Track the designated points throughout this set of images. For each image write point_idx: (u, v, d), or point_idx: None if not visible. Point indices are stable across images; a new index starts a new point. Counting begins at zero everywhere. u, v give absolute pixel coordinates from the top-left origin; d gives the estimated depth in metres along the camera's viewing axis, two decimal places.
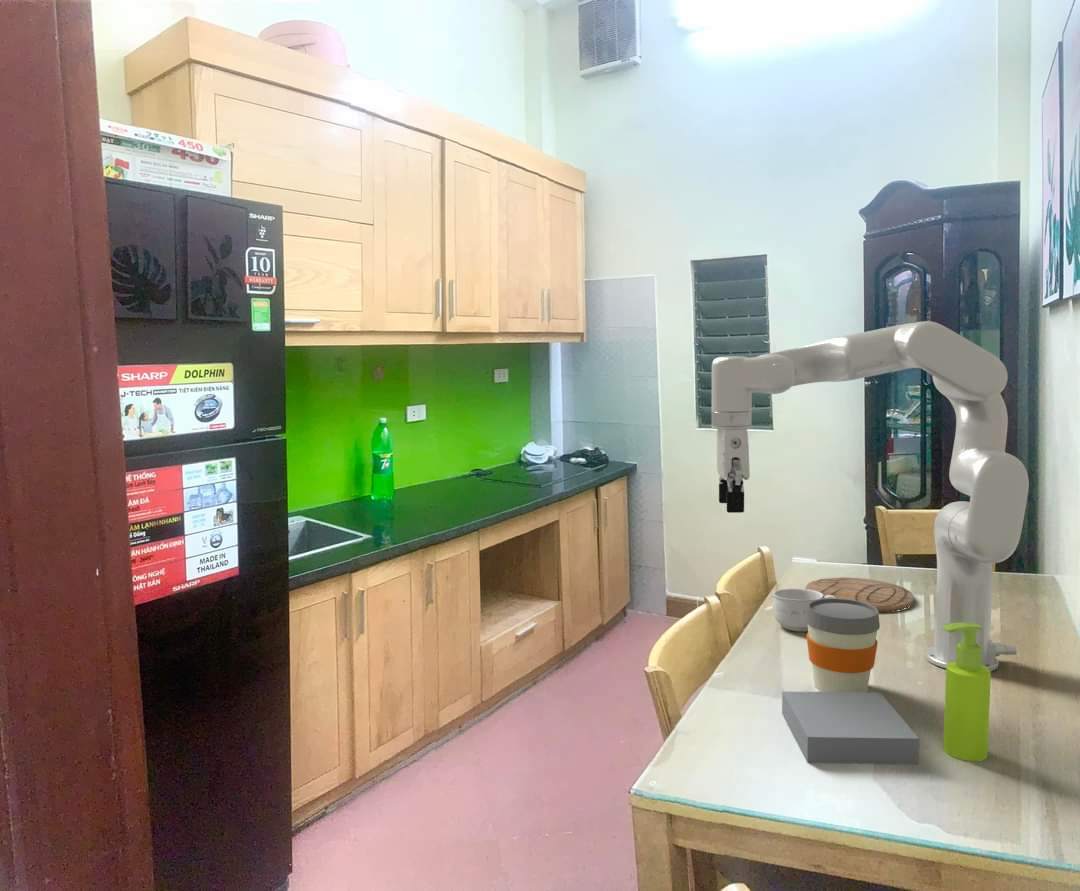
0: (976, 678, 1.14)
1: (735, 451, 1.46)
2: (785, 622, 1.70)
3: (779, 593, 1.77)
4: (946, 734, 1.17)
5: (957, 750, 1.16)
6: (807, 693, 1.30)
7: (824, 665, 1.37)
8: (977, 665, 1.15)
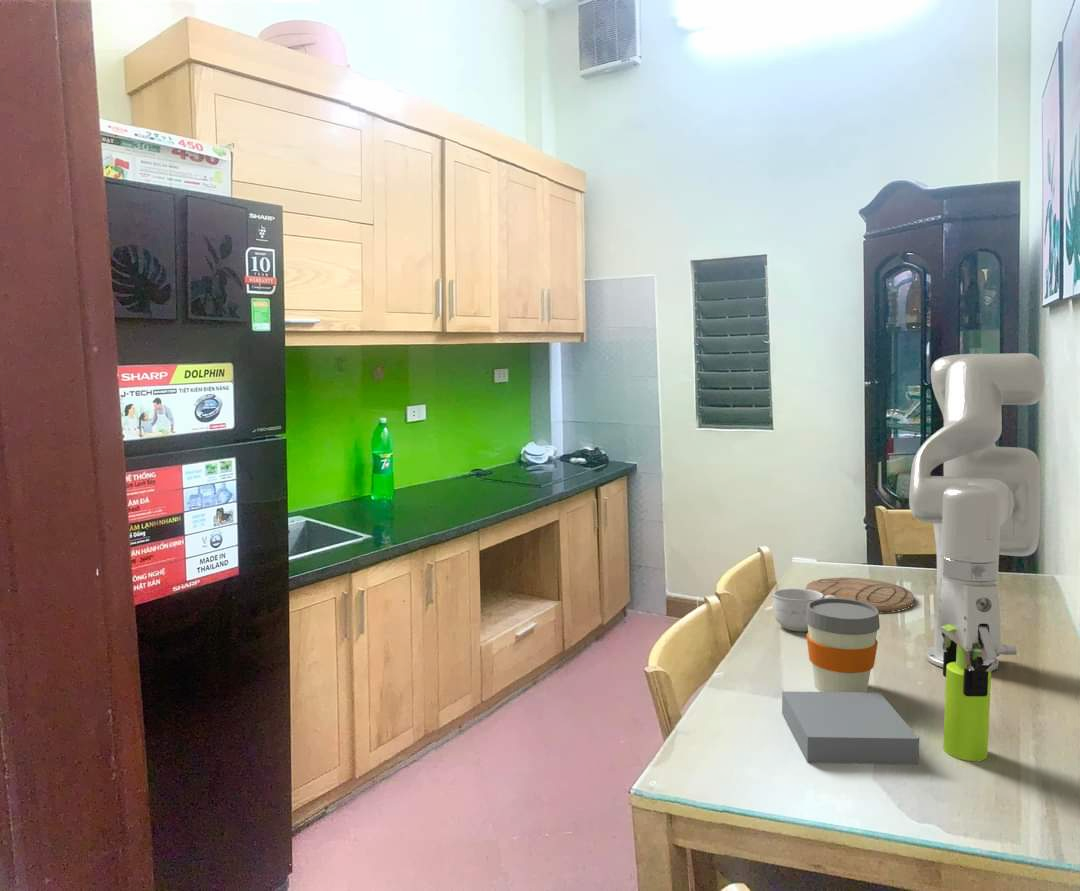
0: None
1: (983, 615, 1.10)
2: (785, 622, 1.70)
3: (779, 593, 1.77)
4: (946, 734, 1.17)
5: (957, 750, 1.16)
6: (807, 693, 1.30)
7: (824, 665, 1.37)
8: None
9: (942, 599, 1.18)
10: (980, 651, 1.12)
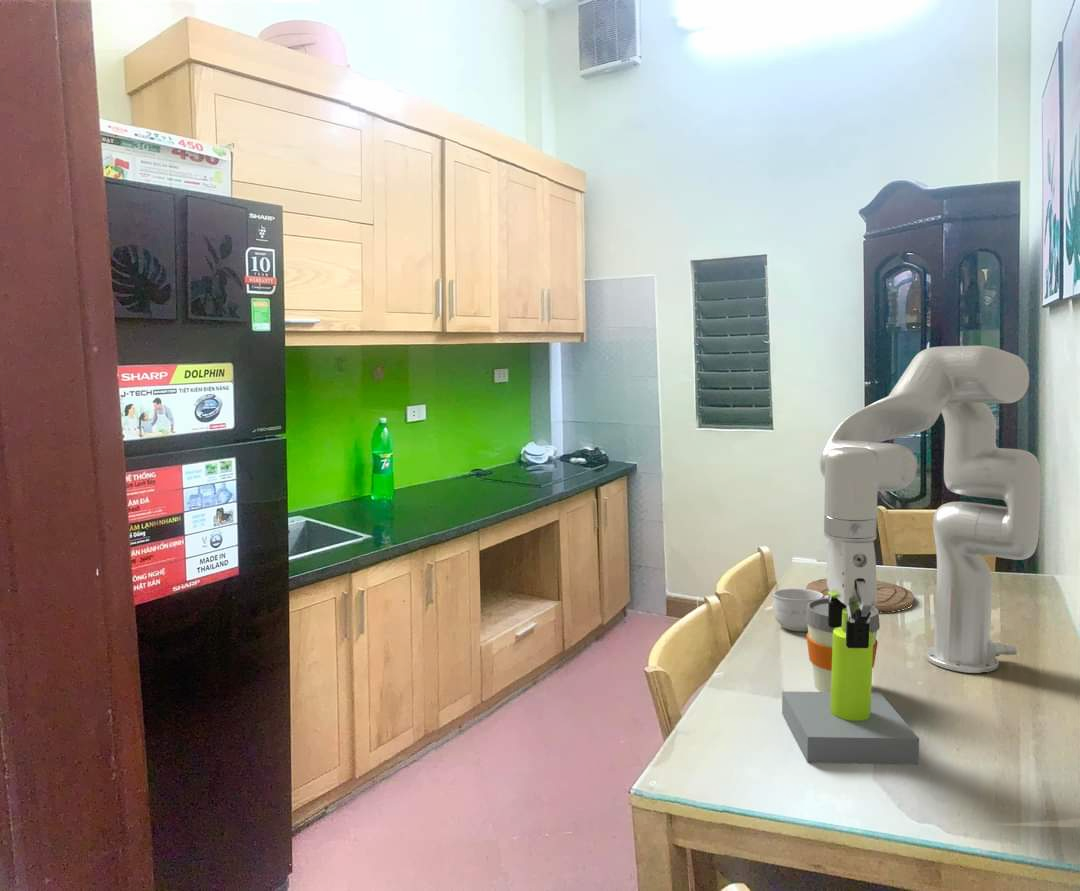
0: None
1: (859, 571, 1.15)
2: (785, 622, 1.70)
3: (779, 593, 1.77)
4: (832, 696, 1.22)
5: (841, 710, 1.21)
6: (807, 693, 1.30)
7: (824, 665, 1.37)
8: None
9: (828, 558, 1.23)
10: None
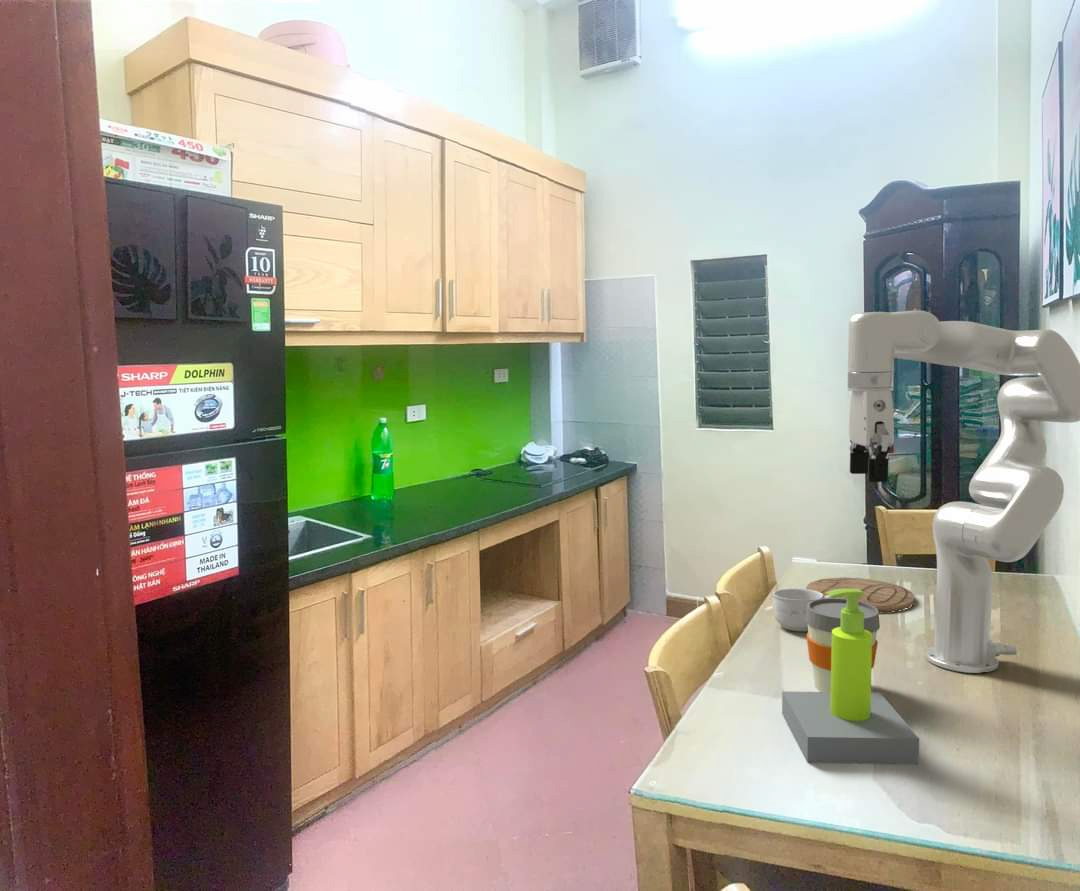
0: (857, 641, 1.18)
1: (879, 415, 1.34)
2: (785, 622, 1.70)
3: (779, 593, 1.77)
4: (832, 696, 1.22)
5: (841, 711, 1.21)
6: (807, 693, 1.30)
7: (824, 665, 1.37)
8: (859, 629, 1.19)
9: (850, 412, 1.42)
10: (879, 443, 1.35)
